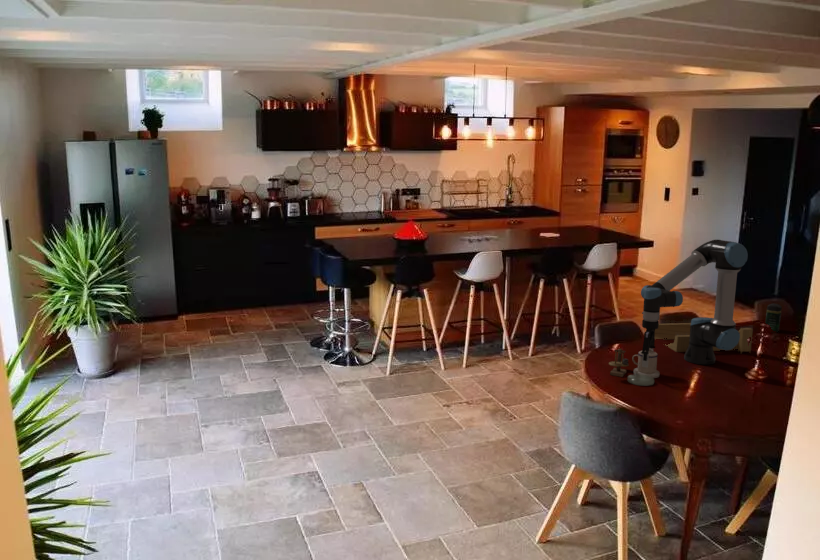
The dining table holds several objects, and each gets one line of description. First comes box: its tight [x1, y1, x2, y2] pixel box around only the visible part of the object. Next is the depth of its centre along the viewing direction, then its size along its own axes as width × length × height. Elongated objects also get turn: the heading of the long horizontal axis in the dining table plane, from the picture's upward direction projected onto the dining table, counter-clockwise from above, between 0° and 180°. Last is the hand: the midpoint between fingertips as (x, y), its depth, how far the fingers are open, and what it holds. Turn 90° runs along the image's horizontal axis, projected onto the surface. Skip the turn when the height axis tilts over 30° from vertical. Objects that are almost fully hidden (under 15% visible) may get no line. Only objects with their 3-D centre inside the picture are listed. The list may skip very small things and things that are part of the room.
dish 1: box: [633, 367, 661, 379], centre depth 336 cm, size 12×12×2 cm
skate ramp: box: [655, 319, 754, 354], centre depth 387 cm, size 40×35×16 cm
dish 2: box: [627, 374, 655, 387], centre depth 324 cm, size 12×12×2 cm
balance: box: [608, 348, 630, 378], centre depth 335 cm, size 21×6×14 cm, turn 150°
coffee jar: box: [764, 302, 783, 333], centre depth 418 cm, size 10×8×19 cm
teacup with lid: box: [631, 348, 659, 374], centre depth 335 cm, size 12×9×12 cm
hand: (647, 363), depth 335 cm, fingers open, 11 cm apart
